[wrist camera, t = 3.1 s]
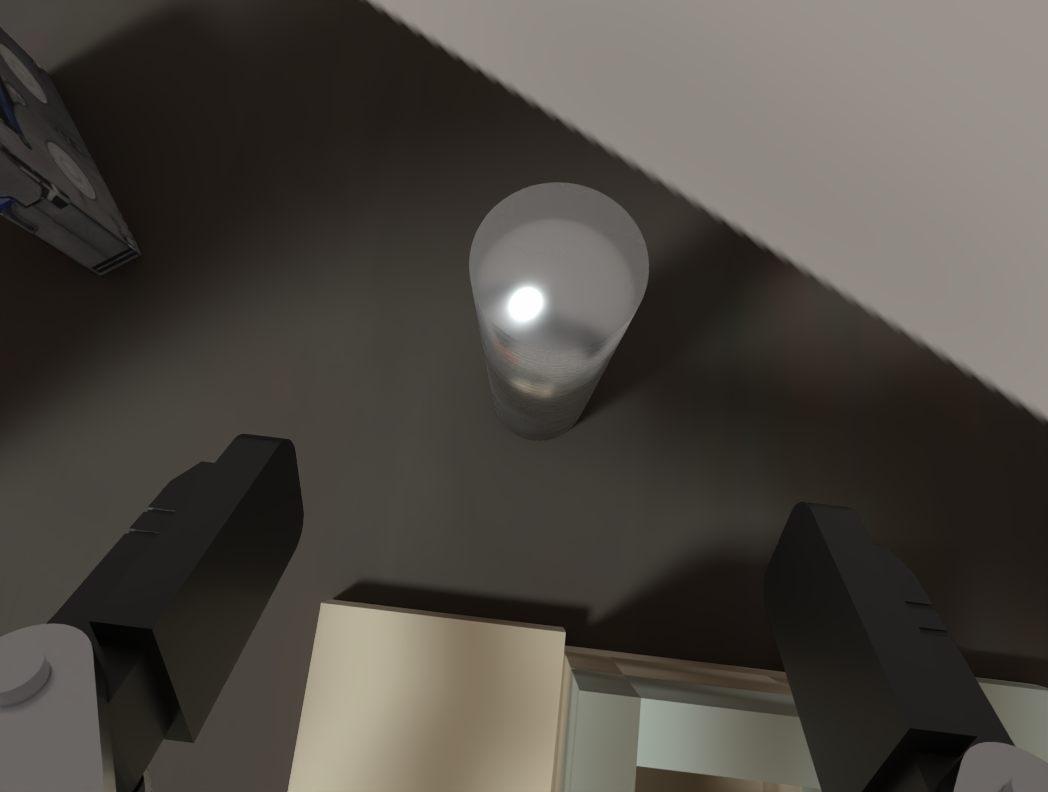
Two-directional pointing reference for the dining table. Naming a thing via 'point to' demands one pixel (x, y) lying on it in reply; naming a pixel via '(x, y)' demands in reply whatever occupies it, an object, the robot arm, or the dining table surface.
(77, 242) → the mini dv tape
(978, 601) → the dining table surface
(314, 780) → the hinge leaves
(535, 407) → the hinge pin
